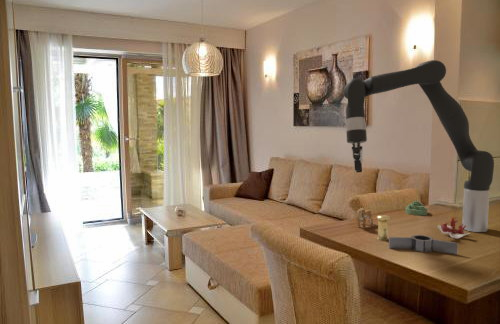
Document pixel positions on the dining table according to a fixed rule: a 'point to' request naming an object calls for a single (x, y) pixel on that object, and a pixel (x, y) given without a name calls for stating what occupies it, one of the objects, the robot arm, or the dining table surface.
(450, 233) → the figurine
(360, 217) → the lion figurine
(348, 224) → the dining table surface
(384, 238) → the hinge pin
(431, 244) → the hinge
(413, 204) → the decorative artifact
